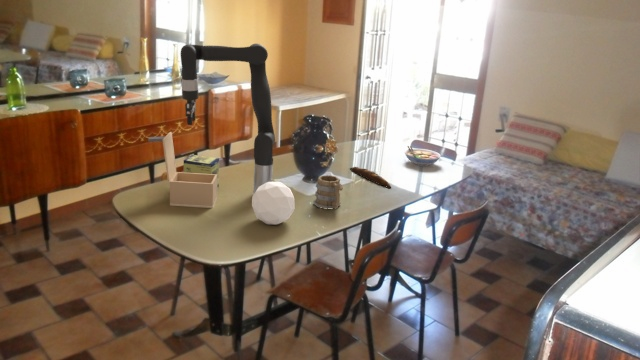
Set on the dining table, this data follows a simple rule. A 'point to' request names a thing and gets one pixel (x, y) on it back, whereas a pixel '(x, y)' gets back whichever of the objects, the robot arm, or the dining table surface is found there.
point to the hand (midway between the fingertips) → (191, 122)
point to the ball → (273, 203)
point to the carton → (193, 189)
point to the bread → (371, 176)
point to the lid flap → (167, 153)
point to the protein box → (202, 165)
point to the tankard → (328, 192)
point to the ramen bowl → (422, 156)
